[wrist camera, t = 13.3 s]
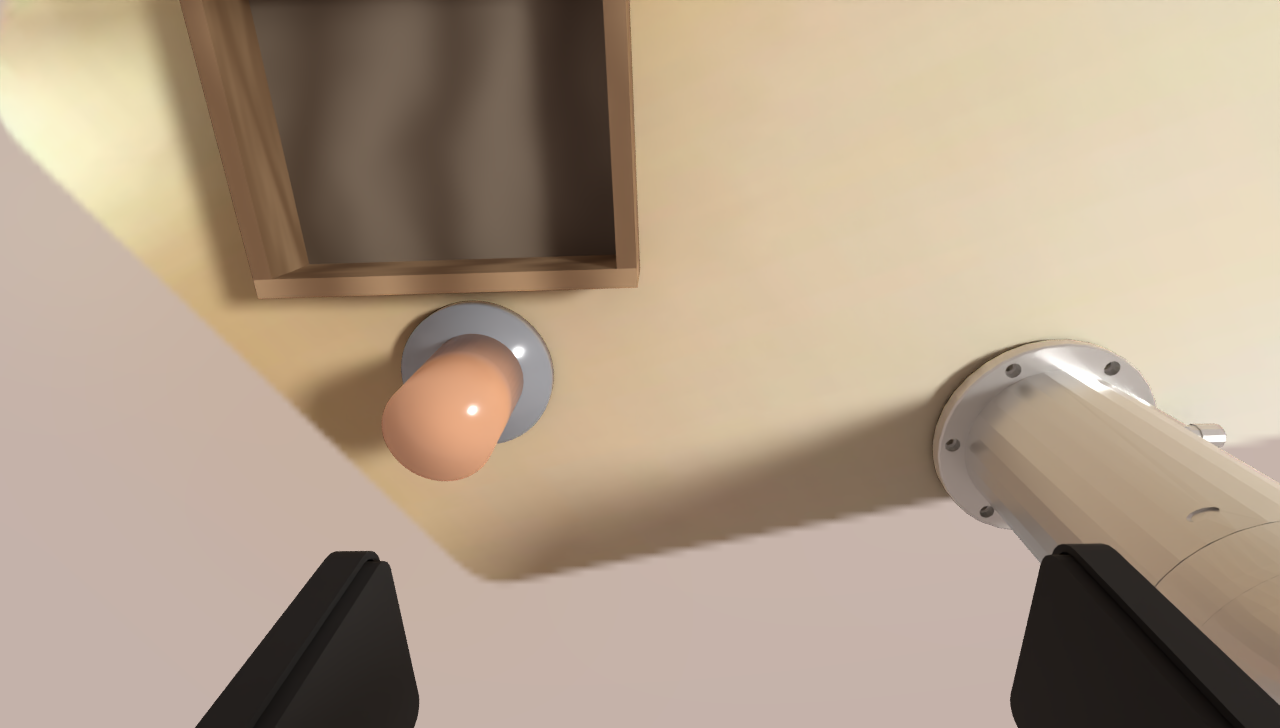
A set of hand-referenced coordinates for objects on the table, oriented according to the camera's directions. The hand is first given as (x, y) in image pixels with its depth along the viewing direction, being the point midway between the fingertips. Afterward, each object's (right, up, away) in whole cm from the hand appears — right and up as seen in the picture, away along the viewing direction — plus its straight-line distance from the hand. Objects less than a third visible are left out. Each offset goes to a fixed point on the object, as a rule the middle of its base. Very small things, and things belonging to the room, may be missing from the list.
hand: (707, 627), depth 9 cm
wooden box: (-11, +16, +24) cm, 32 cm away
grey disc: (-11, +3, +29) cm, 32 cm away
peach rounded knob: (-11, +3, +29) cm, 31 cm away
